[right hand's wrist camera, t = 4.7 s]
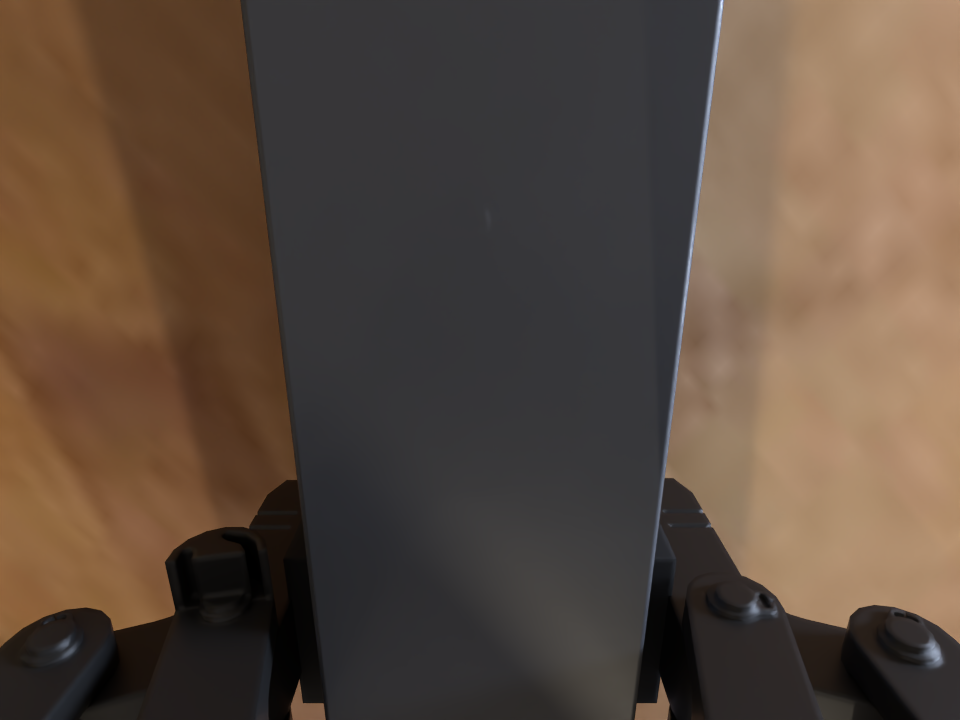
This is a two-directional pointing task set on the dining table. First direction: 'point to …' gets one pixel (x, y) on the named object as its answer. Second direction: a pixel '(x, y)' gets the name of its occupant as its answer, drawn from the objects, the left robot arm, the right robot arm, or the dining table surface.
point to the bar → (481, 333)
